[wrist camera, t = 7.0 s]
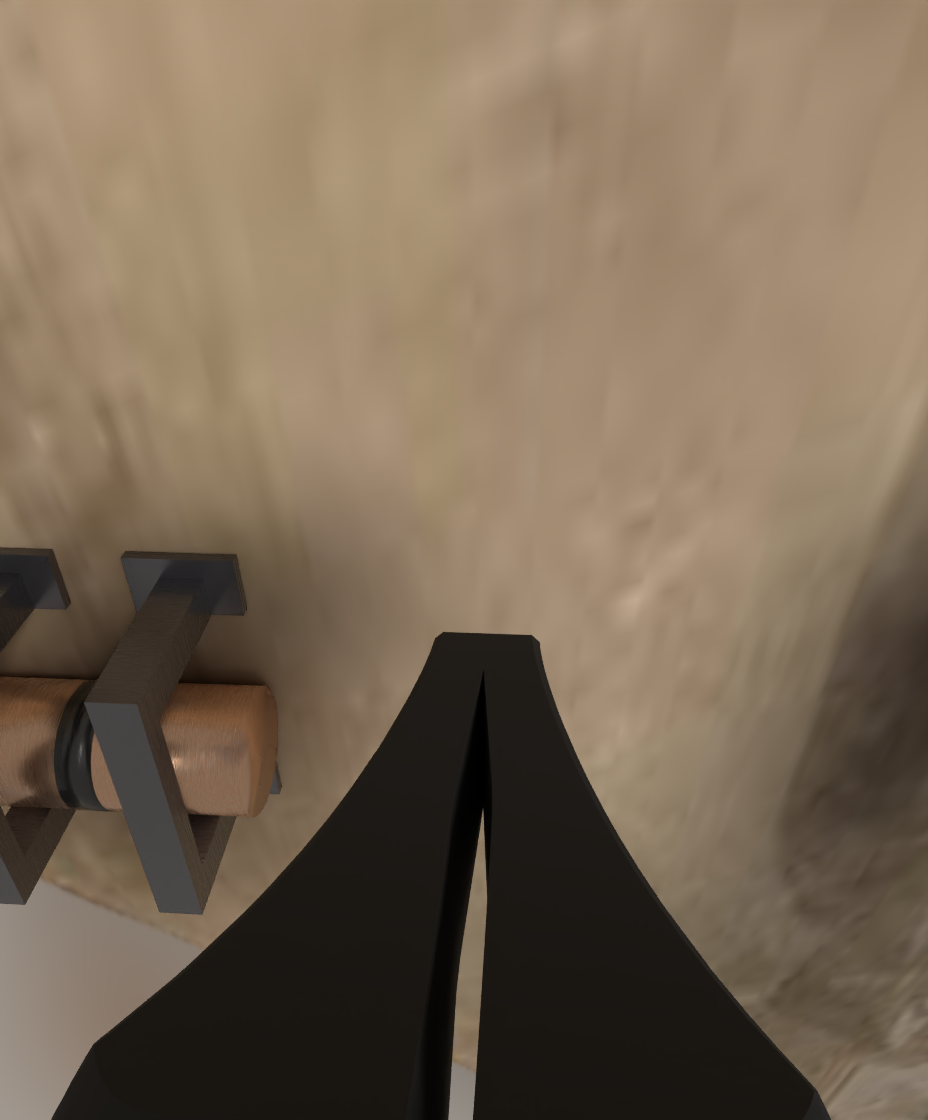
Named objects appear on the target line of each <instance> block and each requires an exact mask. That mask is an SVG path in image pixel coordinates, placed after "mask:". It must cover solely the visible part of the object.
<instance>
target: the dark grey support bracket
mask: <svg viewBox="0 0 928 1120" xmlns="http://www.w3.org/2000/svg"><path fill="white" fill-rule="evenodd" d="M121 560H122V563H123V567H124V570H125V574H126V577H127V581H128V584H129V588H130V591H131V595H132V598H133V602H134V605H135V608H136V612H138V614H137V615H136V617H135V619H134V620H133V622H132V624H131V625H130V627H129V629H128V630H127V632H126V633H125V635H124V637H123V638H122V640H121V642H120V643H119V645H118V647H117V648H116V650H115V652H114V653H113V655H112V657H111V658H110V660H109V662H108V663H107V665H106V667H105V668H104V670H103V672H102V673H101V675H100V677H99V678H98V680H97V682H96V683H95V685H94V686H93V688H92V690H91V691H90V693H89V695H88V696H87V698H86V700H85V701H84V704H85V707H86V709H87V712H88V715H89V718H90V720H91V723H92V726H93V729H94V732H95V734H96V737H97V740H98V743H99V746H100V748H101V751H102V754H103V757H104V759H105V762H106V765H107V768H108V771H109V773H110V776H111V779H112V782H113V784H114V787H115V790H116V793H117V796H118V798H119V801H120V804H121V807H122V809H123V812H124V815H125V818H126V821H127V823H128V826H129V829H130V832H131V834H132V837H133V840H134V843H135V846H136V848H137V851H138V854H139V857H140V859H141V862H142V865H143V868H144V871H145V873H146V876H147V879H148V882H149V885H150V887H151V890H152V893H153V896H154V898H155V901H156V904H157V907H158V910H159V912H165V913H183V914H201V915H202V914H203V912H204V909H205V906H206V903H207V900H208V897H209V894H210V891H211V888H212V886H213V883H214V880H215V877H216V874H217V871H218V868H219V865H220V862H221V860H222V857H223V854H224V851H225V848H226V845H227V842H228V839H229V836H230V834H231V831H232V828H233V825H234V822H235V819H236V816H221V815H198V814H187V811H186V808H185V805H184V801H183V798H182V795H181V791H180V788H179V784H178V781H177V778H176V774H175V771H174V767H173V764H172V761H171V757H170V754H169V751H168V747H167V744H166V740H165V737H164V734H163V730H162V727H161V724H160V719H161V716H162V714H163V712H164V710H165V708H166V706H167V704H168V702H169V700H170V698H171V696H172V694H173V692H174V690H175V688H176V686H177V684H178V682H179V680H180V678H181V676H182V674H183V672H184V670H185V668H186V665H187V663H188V661H189V659H190V657H191V655H192V653H193V651H194V649H195V647H196V645H197V643H198V641H199V639H200V637H201V635H202V633H203V631H204V629H205V627H206V625H207V623H208V621H209V619H210V617H211V615H242V616H244V614H245V612H246V610H247V607H246V601H245V596H244V591H243V586H242V581H241V576H240V571H239V566H238V560H237V555H224V554H191V553H157V552H125V553H124V554H123V556H122V557H121ZM281 787H282V786H281V781H280V776H279V771H278V766H277V760H276V766H275V772H274V777H273V782H272V786H271V789H270V793H269V794H280V791H281Z"/></svg>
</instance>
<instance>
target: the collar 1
mask: <svg viewBox="0 0 928 1120" xmlns="http://www.w3.org/2000/svg"><path fill="white" fill-rule="evenodd" d="M69 604H70V600H69V597H68V594H67V591H66V588H65V585H64V582H63V579H62V576H61V573H60V570H59V568H58V565H57V562H56V559H55V556H54V553H53V550H52V549H22V548H0V652H1V651H2V650H3V648H4V647H5V646H6V645H7V643H8V642H9V641H10V639H11V638H12V637H13V635H14V634H15V633H16V632H17V630H18V629H19V628H20V626H21V625H22V624H23V622H24V621H25V620H26V618H27V617H28V616H29V615H30V613H31V612H32V611H33V609H34V608H35V609H65V610H66V609H67V607H68V606H69ZM75 811H76V810H75V809H64V808H41V807H19V806H11V808H10V809H9V811H8V813H7V814H6V816H5V815H4V813H3V811H2V809H1V807H0V903H3V904H22V905H25V904H26V902H27V900H28V898H29V897H30V895H31V893H32V891H33V889H34V887H35V885H36V884H37V882H38V880H39V878H40V876H41V874H42V872H43V870H44V869H45V867H46V865H47V863H48V861H49V859H50V857H51V856H52V854H53V852H54V850H55V848H56V846H57V844H58V843H59V841H60V839H61V837H62V835H63V833H64V831H65V830H66V828H67V826H68V824H69V822H70V820H71V818H72V816H73V815H74V813H75Z"/></svg>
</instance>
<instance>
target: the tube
mask: <svg viewBox="0 0 928 1120" xmlns="http://www.w3.org/2000/svg"><path fill="white" fill-rule="evenodd" d="M97 680H98V679H91V680H79V679H50V678H21V677H0V806H19V807H41V808H64V809H75V810H92V811H123V809H122V807H121V804H120V801H119V798H118V796H117V793H116V790H115V787H114V784H113V782H112V779H111V776H110V773H109V771H108V768H107V765H106V762H105V759H104V757H103V754H102V751H101V748H100V746H99V743H98V740H97V737H96V734H95V732H94V729H93V726H92V723H91V720H90V718H89V715H88V712H87V709H86V707H85V704H84V701H85V700H86V698H87V696H88V695H89V693H90V691H91V690H92V688H93V686H94V685H95V683H96V682H97ZM160 724H161V727H162V730H163V734H164V737H165V740H166V744H167V747H168V751H169V754H170V757H171V761H172V764H173V767H174V771H175V774H176V778H177V781H178V784H179V788H180V791H181V795H182V798H183V801H184V805H185V808H186V811H187V814H198V815H221V816H243V817H255V816H257V815H258V814H259V813H260V812H261V811H262V809H263V807H264V806H265V803H266V801H267V798H268V796H269V793H270V789H271V786H272V782H273V777H274V772H275V766H276V758H277V747H278V718H277V709H276V704H275V700H274V696H273V694H272V692H271V690H270V689H269V688H268V687H267V686H252V685H223V684H194V683H178V684H177V686H176V688H175V690H174V692H173V694H172V696H171V698H170V700H169V702H168V704H167V706H166V708H165V710H164V712H163V714H162V716H161V719H160Z"/></svg>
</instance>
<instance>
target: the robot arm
mask: <svg viewBox="0 0 928 1120" xmlns="http://www.w3.org/2000/svg"><path fill="white" fill-rule="evenodd" d="M482 811H483V812H484V835H485V858H486V880H487V914H486V931H485V947H484V963H483V978H482V994H481V1010H480V1025H479V1039H478V1054H477V1069H476V1084H475V1098H474V1099H475V1100H474V1113H473V1120H831V1119H830V1117H829V1114H828V1112H827V1110H826V1108H825V1106H824V1104H823V1102H822V1100H821V1098H820V1096H819V1094H818V1092H817V1090H816V1089H815V1088H814V1087H813V1086H812V1085H811V1083H810V1082H809V1081H808V1080H807V1079H806V1078H805V1077H804V1076H803V1075H802V1074H801V1073H800V1072H799V1070H798V1069H797V1068H796V1067H795V1066H794V1065H793V1064H792V1063H791V1062H790V1061H789V1060H788V1059H787V1057H786V1056H785V1055H784V1054H783V1053H782V1052H781V1051H780V1050H779V1049H778V1048H777V1047H776V1045H775V1044H774V1043H773V1042H772V1041H771V1040H770V1039H769V1037H768V1036H767V1035H766V1034H765V1033H764V1032H763V1031H762V1030H761V1028H760V1027H759V1026H758V1025H757V1024H756V1023H755V1022H754V1020H753V1019H752V1018H751V1017H750V1016H749V1015H748V1014H747V1012H746V1011H745V1010H744V1009H743V1008H742V1006H741V1005H740V1004H739V1003H738V1001H737V1000H736V999H735V998H734V997H733V995H732V994H731V993H730V992H729V991H728V989H727V988H726V987H725V986H724V985H723V983H722V982H721V981H720V980H719V979H718V977H717V976H716V975H715V974H714V972H713V971H712V970H711V969H710V967H709V966H708V965H707V963H706V962H705V961H704V959H703V958H702V957H701V955H700V954H699V953H698V951H697V950H696V949H695V947H694V946H693V945H692V943H691V942H690V941H689V939H688V938H687V937H686V935H685V934H684V933H683V931H682V930H681V929H680V927H679V926H678V925H677V923H676V922H675V920H674V919H673V918H672V916H671V915H670V914H669V912H668V911H667V910H666V908H665V907H664V906H663V904H662V903H661V901H660V900H659V898H658V897H657V895H656V894H655V892H654V891H653V889H652V888H651V886H650V885H649V883H648V882H647V880H646V879H645V877H644V876H643V874H642V873H641V871H640V870H639V868H638V867H637V865H636V863H635V862H634V860H633V859H632V857H631V855H630V854H629V852H628V850H627V849H626V847H625V846H624V844H623V842H622V841H621V839H620V837H619V836H618V834H617V832H616V830H615V829H614V827H613V825H612V823H611V822H610V820H609V818H608V816H607V814H606V813H605V811H604V809H603V807H602V805H601V803H600V801H599V799H598V798H597V796H596V794H595V792H594V790H593V788H592V786H591V784H590V782H589V780H588V778H587V776H586V774H585V772H584V770H583V768H582V766H581V764H580V761H579V759H578V757H577V755H576V753H575V750H574V748H573V746H572V743H571V741H570V739H569V736H568V734H567V732H566V729H565V727H564V725H563V722H562V720H561V717H560V715H559V712H558V709H557V707H556V704H555V701H554V698H553V695H552V692H551V689H550V686H549V683H548V680H547V676H546V673H545V669H544V665H543V661H542V656H541V651H540V642H539V641H538V640H537V639H535V638H534V637H533V636H532V635H512V634H483V633H454V632H443V633H442V634H440V635H439V636H438V637H436V638H435V640H434V643H433V646H432V649H431V652H430V654H429V656H428V659H427V661H426V663H425V666H424V668H423V670H422V672H421V674H420V676H419V678H418V680H417V682H416V684H415V686H414V688H413V690H412V692H411V694H410V695H409V697H408V699H407V701H406V703H405V705H404V706H403V708H402V710H401V711H400V713H399V715H398V716H397V718H396V720H395V722H394V723H393V725H392V727H391V728H390V730H389V732H388V733H387V735H386V737H385V738H384V740H383V742H382V743H381V745H380V746H379V748H378V749H377V751H376V752H375V754H374V755H373V757H372V758H371V760H370V761H369V763H368V764H367V766H366V767H365V768H364V770H363V771H362V773H361V774H360V776H359V777H358V779H357V780H356V782H355V783H354V784H353V786H352V787H351V789H350V790H349V792H348V793H347V794H346V796H345V797H344V798H343V800H342V801H341V802H340V804H339V805H338V806H337V808H336V809H335V810H334V812H333V813H332V814H331V815H330V817H329V818H328V819H327V821H326V822H325V823H324V824H323V825H322V827H321V828H320V829H319V830H318V832H317V833H316V834H315V835H314V836H313V838H312V839H311V840H310V841H309V843H308V844H307V845H306V846H305V847H304V848H303V850H302V851H301V852H300V853H299V854H298V855H297V856H296V857H295V859H294V860H293V861H292V862H291V863H290V864H289V865H288V866H287V867H286V869H285V870H284V871H283V872H282V873H281V874H280V875H279V876H278V877H277V879H276V880H275V881H274V882H273V883H272V884H271V885H270V886H269V887H268V888H267V889H266V891H265V892H264V893H263V894H262V895H261V896H260V897H259V898H258V899H257V900H256V901H255V902H254V903H253V904H252V905H251V906H250V907H249V908H248V909H247V910H246V911H245V912H244V913H243V914H242V915H241V916H240V917H239V918H238V919H237V920H236V921H235V922H234V923H233V924H231V925H230V926H229V927H228V928H227V929H226V930H225V931H224V932H223V933H222V934H221V935H220V936H219V937H218V938H217V939H216V940H215V941H213V942H212V943H211V944H210V945H209V946H208V947H207V948H206V949H205V950H204V951H203V952H202V953H201V954H200V955H199V956H198V957H197V958H196V959H195V960H193V961H192V962H191V963H190V964H189V965H188V966H187V967H186V968H185V969H183V970H182V971H181V972H180V973H179V974H178V975H177V976H176V977H174V978H173V979H172V980H171V981H170V982H169V983H167V984H166V985H165V986H164V987H162V988H161V989H160V990H159V991H158V992H156V993H155V994H154V995H153V996H152V997H151V998H149V999H148V1000H147V1001H146V1002H144V1003H143V1004H142V1005H141V1006H139V1007H138V1008H137V1009H136V1010H134V1011H133V1012H132V1013H131V1014H130V1015H129V1016H127V1017H126V1018H125V1019H124V1020H123V1021H121V1022H120V1023H119V1024H118V1025H116V1026H115V1027H114V1028H113V1029H111V1030H110V1031H109V1032H108V1033H106V1034H105V1035H104V1036H103V1037H101V1038H100V1039H99V1040H98V1041H97V1042H96V1043H94V1044H93V1046H92V1048H91V1049H90V1051H89V1052H88V1054H87V1056H86V1057H85V1059H84V1061H83V1063H82V1064H81V1066H80V1068H79V1069H78V1071H77V1073H76V1075H75V1077H74V1078H73V1080H72V1082H71V1083H70V1086H69V1088H68V1089H67V1091H66V1093H65V1095H64V1097H63V1099H62V1101H61V1102H60V1104H59V1106H58V1108H57V1109H56V1111H55V1113H54V1115H53V1117H52V1120H448V1115H449V1099H450V1084H451V1067H452V1052H453V1036H454V1021H455V1005H456V990H457V981H458V973H459V964H460V955H461V949H462V942H463V936H464V929H465V923H466V916H467V910H468V903H469V897H470V890H471V884H472V877H473V871H474V864H475V858H476V851H477V845H478V838H479V831H480V825H481V818H482Z"/></svg>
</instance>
